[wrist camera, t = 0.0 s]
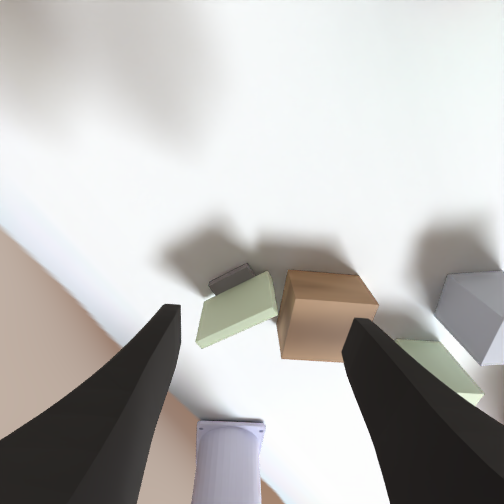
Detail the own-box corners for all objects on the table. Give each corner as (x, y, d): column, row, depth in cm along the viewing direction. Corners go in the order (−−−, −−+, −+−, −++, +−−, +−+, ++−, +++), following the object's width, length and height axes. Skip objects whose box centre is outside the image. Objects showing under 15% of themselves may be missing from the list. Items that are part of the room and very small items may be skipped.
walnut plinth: (339, 327, 25) (354, 363, 21) (276, 323, 25) (281, 358, 21) (357, 274, 22) (379, 304, 19) (287, 268, 22) (295, 298, 18)
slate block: (482, 311, 24) (542, 361, 19) (433, 315, 24) (480, 365, 19) (501, 270, 22) (573, 314, 17) (447, 273, 22) (504, 319, 17)
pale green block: (277, 283, 22) (285, 326, 18) (217, 311, 23) (210, 358, 19) (260, 256, 21) (264, 295, 17) (197, 288, 22) (185, 331, 18)
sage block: (421, 372, 28) (458, 426, 23) (380, 369, 28) (409, 424, 23) (439, 341, 26) (484, 394, 21) (395, 338, 26) (431, 391, 21)
